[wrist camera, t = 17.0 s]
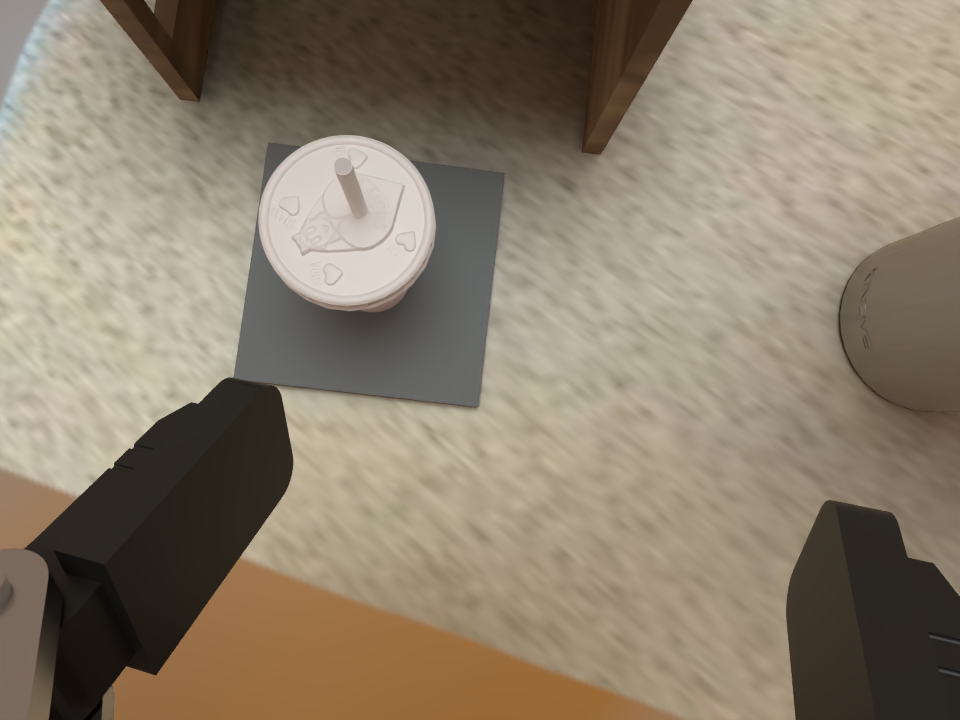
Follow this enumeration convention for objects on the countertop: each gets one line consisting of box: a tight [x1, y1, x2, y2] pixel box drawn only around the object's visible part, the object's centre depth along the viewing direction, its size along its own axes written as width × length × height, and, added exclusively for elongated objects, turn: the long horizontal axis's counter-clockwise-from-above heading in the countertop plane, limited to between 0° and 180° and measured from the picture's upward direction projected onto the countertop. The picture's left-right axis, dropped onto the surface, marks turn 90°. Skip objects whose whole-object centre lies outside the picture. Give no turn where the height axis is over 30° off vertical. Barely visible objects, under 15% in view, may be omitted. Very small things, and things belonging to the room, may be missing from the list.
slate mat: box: [234, 143, 504, 407], centre depth 35 cm, size 12×12×1 cm
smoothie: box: [258, 135, 436, 312], centre depth 27 cm, size 6×6×14 cm
